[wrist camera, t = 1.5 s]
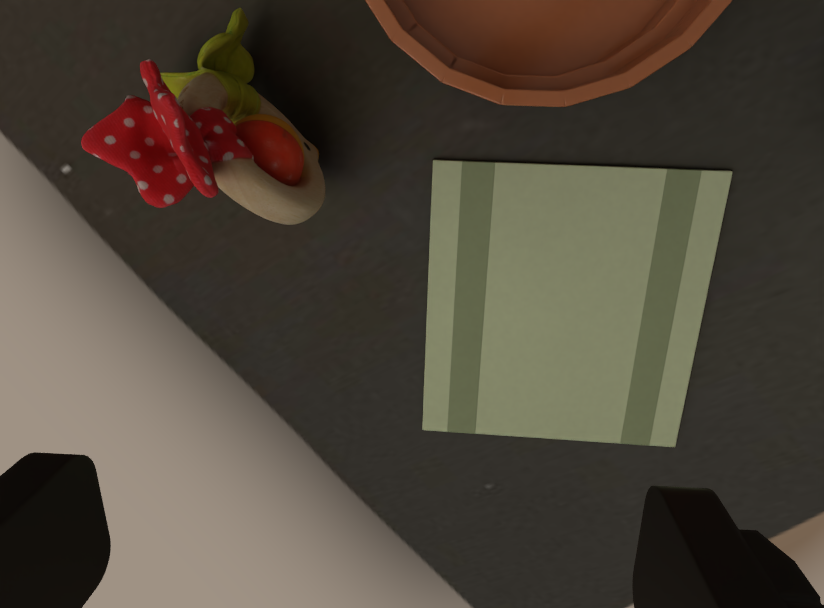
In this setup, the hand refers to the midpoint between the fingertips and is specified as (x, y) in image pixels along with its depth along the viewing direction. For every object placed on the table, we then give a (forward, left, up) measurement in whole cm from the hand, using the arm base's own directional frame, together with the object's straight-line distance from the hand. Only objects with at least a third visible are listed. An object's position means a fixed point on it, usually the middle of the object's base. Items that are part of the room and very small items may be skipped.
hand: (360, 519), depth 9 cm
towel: (+5, +7, -23) cm, 24 cm away
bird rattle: (-4, -8, -23) cm, 24 cm away
